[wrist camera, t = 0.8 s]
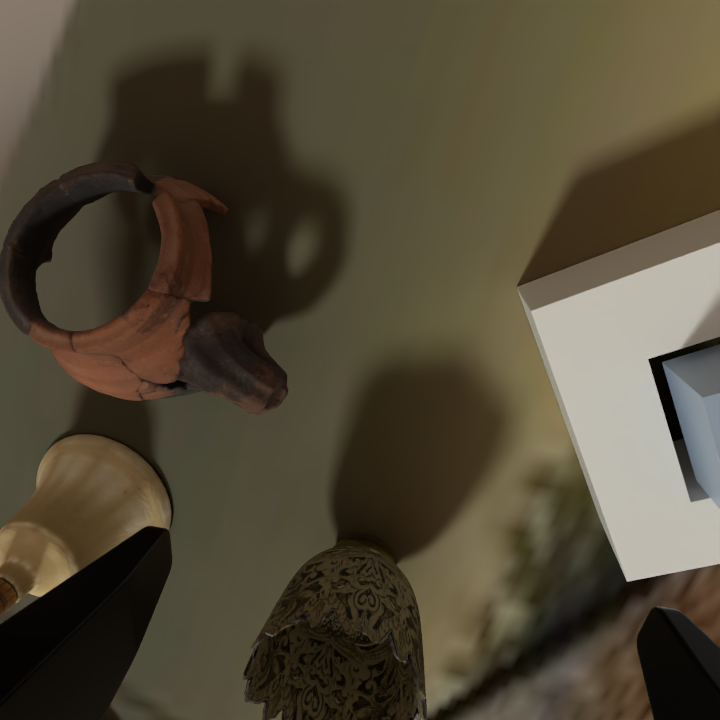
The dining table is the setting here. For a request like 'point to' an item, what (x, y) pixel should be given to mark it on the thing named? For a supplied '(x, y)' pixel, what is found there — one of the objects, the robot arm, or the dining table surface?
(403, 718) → the cup
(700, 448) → the blue key
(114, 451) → the hand bell
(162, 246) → the pottery mug
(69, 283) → the dining table surface
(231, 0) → the dining table surface
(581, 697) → the dining table surface
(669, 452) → the key panel
